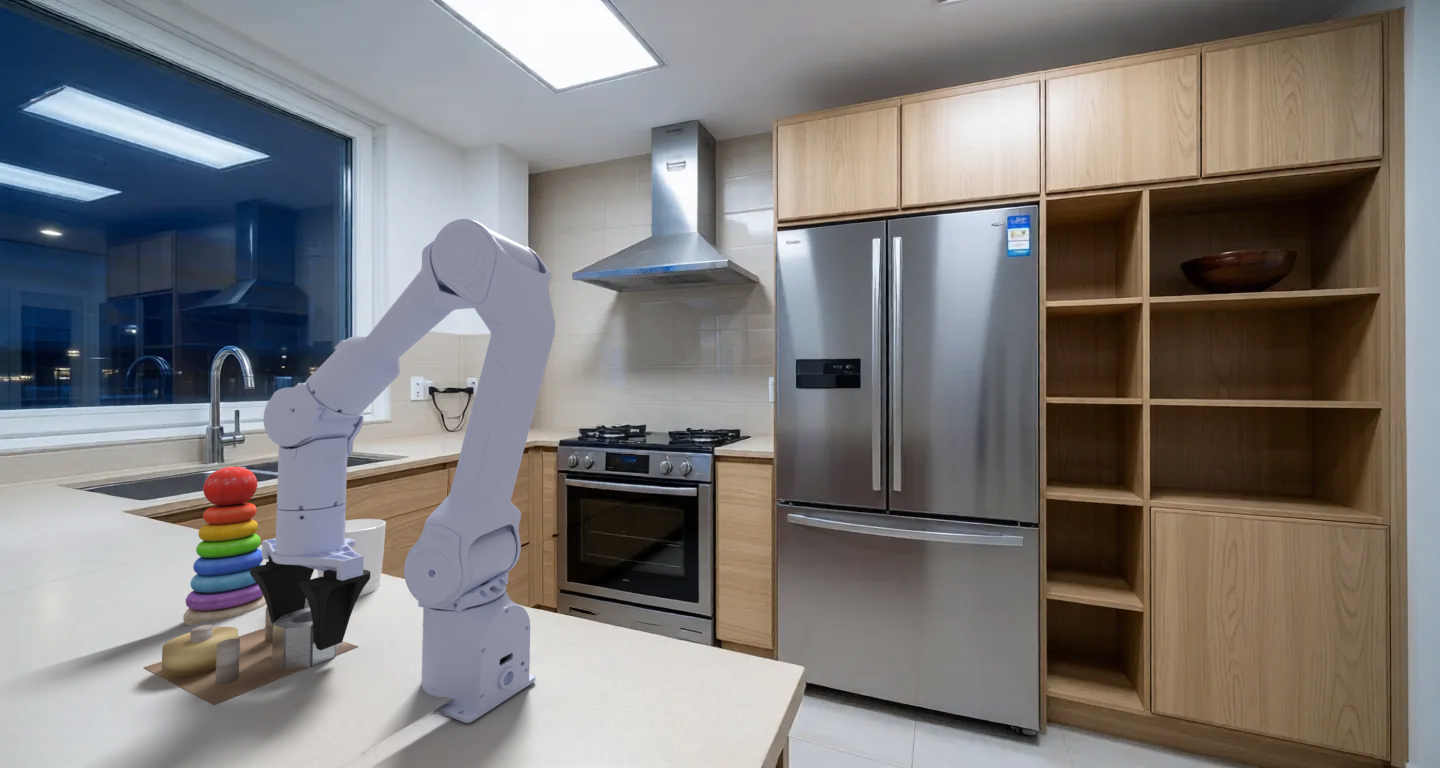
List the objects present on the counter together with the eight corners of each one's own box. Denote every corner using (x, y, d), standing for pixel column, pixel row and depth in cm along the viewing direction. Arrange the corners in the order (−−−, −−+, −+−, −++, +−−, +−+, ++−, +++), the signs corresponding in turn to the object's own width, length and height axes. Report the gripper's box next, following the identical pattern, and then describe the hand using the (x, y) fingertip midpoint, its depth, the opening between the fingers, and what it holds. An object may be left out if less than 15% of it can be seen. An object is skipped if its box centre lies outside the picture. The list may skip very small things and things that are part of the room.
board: (358, 657, 57) (359, 613, 57) (213, 718, 46) (215, 663, 46) (285, 631, 63) (286, 591, 63) (143, 679, 52) (144, 631, 52)
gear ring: (351, 650, 56) (352, 611, 56) (292, 674, 51) (293, 632, 51) (321, 639, 59) (322, 602, 59) (262, 661, 54) (263, 621, 54)
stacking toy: (285, 606, 70) (289, 463, 71) (223, 632, 63) (228, 472, 63) (231, 603, 71) (235, 462, 72) (163, 629, 63) (168, 470, 64)
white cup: (302, 602, 72) (304, 527, 72) (364, 584, 79) (365, 516, 79) (334, 614, 68) (336, 535, 68) (396, 594, 75) (398, 523, 75)
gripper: (395, 505, 56) (391, 636, 56) (315, 492, 62) (311, 610, 62) (320, 519, 49) (315, 667, 49) (239, 503, 56) (235, 634, 55)
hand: (308, 637), depth 55 cm, fingers open, 7 cm apart
